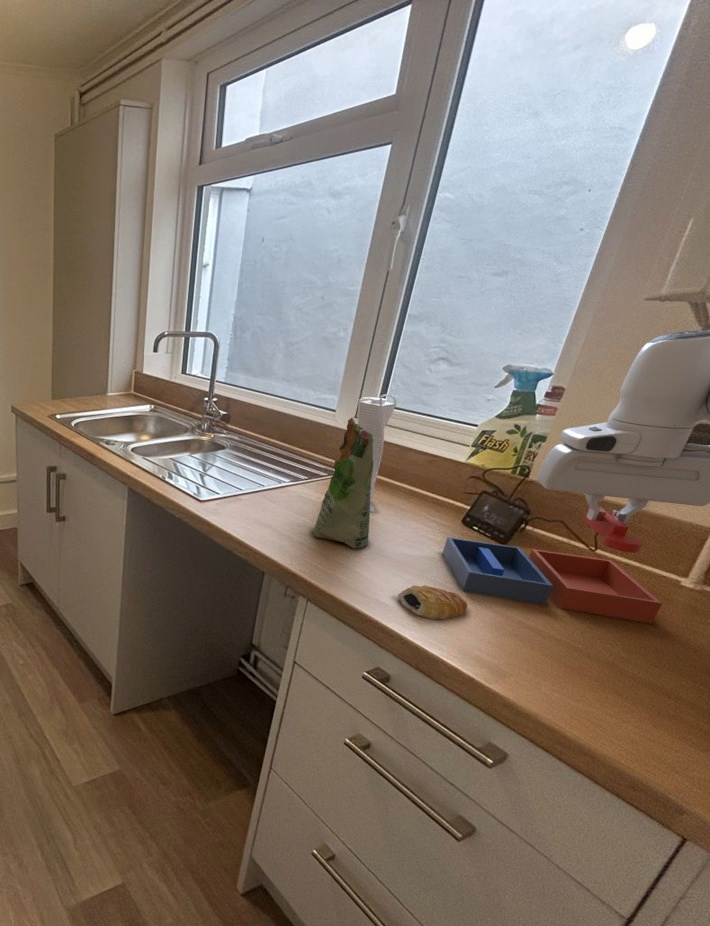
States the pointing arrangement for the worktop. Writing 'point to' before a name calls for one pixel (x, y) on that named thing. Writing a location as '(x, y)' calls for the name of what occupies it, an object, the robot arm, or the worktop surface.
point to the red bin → (595, 586)
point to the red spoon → (614, 533)
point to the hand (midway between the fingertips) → (605, 521)
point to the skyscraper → (375, 428)
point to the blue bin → (514, 583)
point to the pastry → (432, 602)
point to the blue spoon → (488, 562)
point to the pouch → (349, 491)
